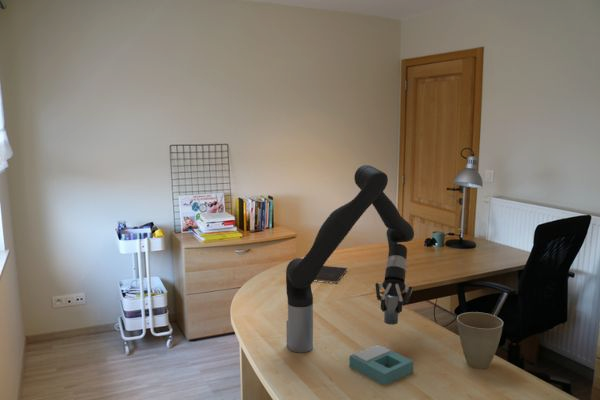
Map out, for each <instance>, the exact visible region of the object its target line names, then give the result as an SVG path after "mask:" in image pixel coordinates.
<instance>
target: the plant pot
mask: <svg viewBox="0 0 600 400" xmlns="http://www.w3.org/2000/svg"><path fill="white" fill-rule="evenodd" d="M456 322H457V329H458V335H459V341H460V345H461V349H462V351H463V356H464V358H465V361H466V365H468V366H470V367H471V368H474V369H479V370H483V368H484V369H487V367H488V368H489V367H490V366H491V364H492V361H493V359H494V357H495V355H496V352H497V350H498V346H499V345H500V344H499V343H500V340H501V337H502V332H503V327H504V321H503V320H502V319H501V318H500V317H498V316H497V315H493V314H491V313H486V312H479V311H475V312H474V311H470V312H463V313H460V314H459V315H457V317H456Z"/></svg>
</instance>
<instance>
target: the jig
mask: <svg viewBox="0 0 600 400" xmlns="http://www.w3.org/2000/svg"><path fill="white" fill-rule="evenodd" d="M349 367H350V368H351V369H353V370H355V371H356V372H358V373H360V374H362V375H364V376H366V377H367V378H369V379H371V380H373V381H375V382H376V383H378V384H380V385H382V386H384V387H385V386H387V385H389V384H391V383H393V382H395V381H398V380H400V379H402V378H403V377H405V376H408V375H410V374H413V372H414V360H412V359H410V358H408V357H406V356H404V355H402V354H399V353H397V352H395V351H393V350H391V349H389V348H387V347H385V346H383V345H380V344H376V345H373V346H370V347H368V348H365V349H363V350H360V351H358V352H355V353H353V354H351V355H349Z"/></svg>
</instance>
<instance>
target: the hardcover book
mask: <svg viewBox="0 0 600 400" xmlns="http://www.w3.org/2000/svg"><path fill="white" fill-rule="evenodd" d="M347 270H348V267H340V266H339V267H338V266H329V265H328V266H327V265H323V267H322V268H321V270H320V272H319V273H318V275H317V277H316V278H315V280H317V281H324V282H332V283H331V284H334V283H337V284H338V282H339V281H340V280H341V279H342V277H343V276H344V275H345V274H344V273H346V272H347ZM343 274H344V275H343ZM340 278H341V279H340ZM339 279H340V280H339ZM324 282H323V283H324Z"/></svg>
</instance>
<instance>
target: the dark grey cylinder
mask: <svg viewBox="0 0 600 400" xmlns="http://www.w3.org/2000/svg"><path fill="white" fill-rule="evenodd" d="M398 303H399V295H397V294H393V293H389V294H385V310H384V312H383V313H384V315H383V317H384V320H383V322H384V323H385V324H387V325H391V326H392V325H397V324H398V322H399V313H398Z"/></svg>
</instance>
